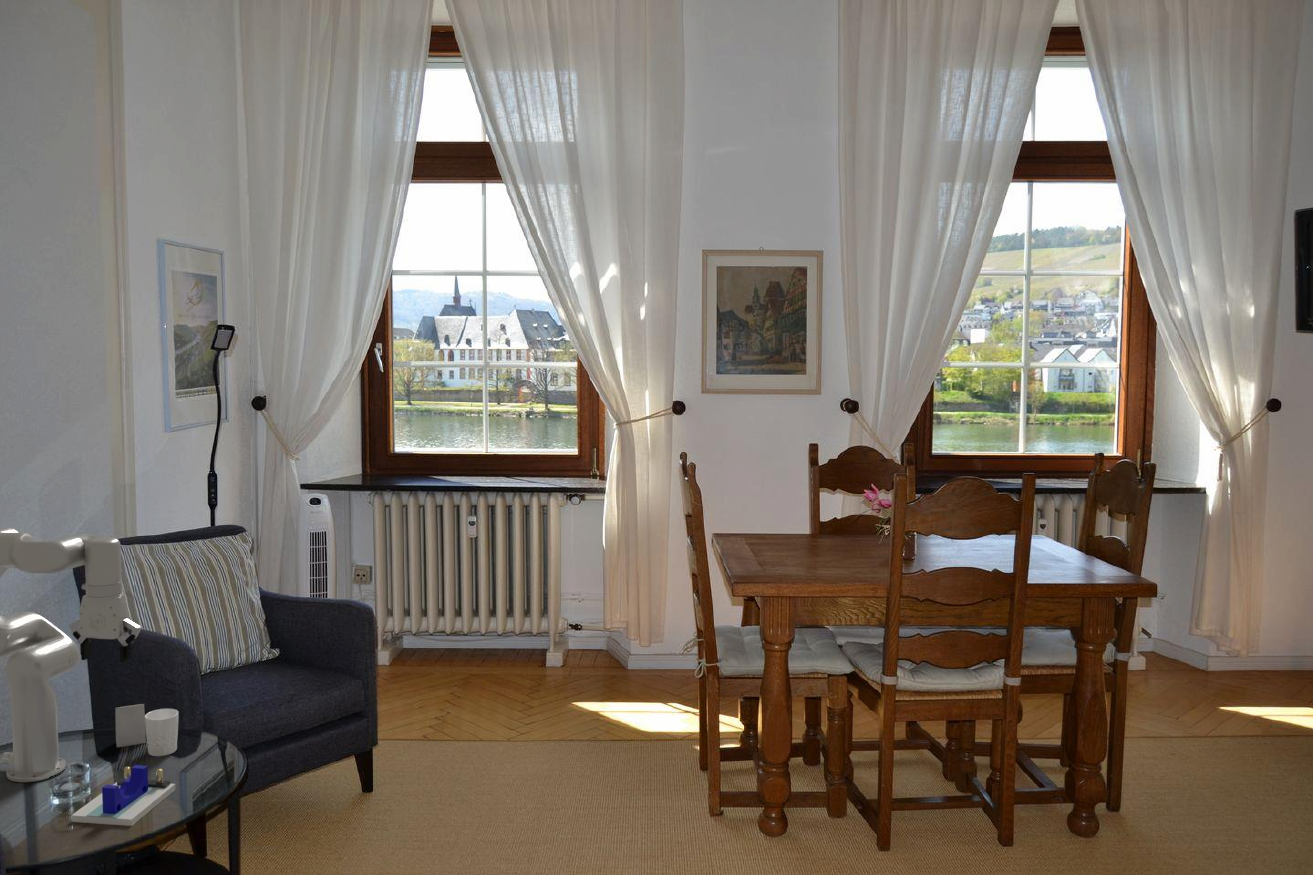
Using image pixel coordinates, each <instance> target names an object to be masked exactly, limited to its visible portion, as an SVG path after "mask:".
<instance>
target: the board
mask: <svg viewBox="0 0 1313 875" xmlns="http://www.w3.org/2000/svg"><path fill="white" fill-rule="evenodd" d="M112 785H117V781H116V782H115V783H114V784H112ZM117 786H119V788H120V787H121V785H117ZM175 791H176V783H170V785H169V786H168V787H167V788H154V787H148V791H147V792H146V793H144V794H143V795H141V796H140V797H139V798H137V799H136V800H134V801H133V802H132V803H130V804H129V805H127V806H126V807H125V808H123V809H122V810H121V811H119V812H118V813H116V814H107V813H103V801H102V792H101V793H100V794H98V795H96V797H94V798H93V799H92V800H90V801H89V802H88V803H86V804H85V805H84V806H81V808H79V809H78V810H77V811H75V812H74V813H73V814H71V815H70V816H71V823H83V824H87V823H88V824H96V825H97V824H98V825H113V826H114V825H116V826H127V827H133V826H134V825H135V824H136V823H137V822H139V821H140V820H141V819H142V818H144V817H145V816H146V815H147V814H148V813H150V812H151V811H152V810H153V809H154V808H156V806H158V805H159V804H160V803H161V802H163V801H165V799H166V798H167V797H169V796H170V795H171V794H173V793H174V792H175Z"/></svg>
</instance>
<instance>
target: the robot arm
mask: <svg viewBox="0 0 1313 875" xmlns="http://www.w3.org/2000/svg"><path fill="white" fill-rule="evenodd" d="M121 548H122V547H121V542H120V540H119V539H118V538H116V537H112V536H111V537H110V536H102V537H100V536H97V535H94V534H90V533H83V532H82V533H76V534H72V535H69V536H65V537H61V538H58V539H54V540H50V541H35V539H34V537H33V536H32V535H31V534H29V533H26V532H19V531H18V530H16V529H15V528H12V527H9V526H1V527H0V578H2V576H3V575H4V574H5V573H7V571H8V569H17V570H19V571H20V572H23V573H27V574H55V573H61V572H64V571H67V570H71V569H73V568H74V569H75V568H79V567H82V566H84V568H85V583H83V584H81V590H84V591H85V595H84V594H83V595H82V598H81V603H80V609H79V617H78V618H79V619H77V620H76V621H74V622H72V623H70V624H68V626H69V629H70V631H71V633H72V636H73V637H74V638H75V639H76V641H77V643H78V644H79V645H80V646H79V647H78V645H77V644H76V643H75V641H74V640H73V639H72V638H71V637H70V636H68V635H67V634H66V633H65V632H64V631H62V630H61V629H60V628H58V627H57V626H56V625H55V624H53V623H52V622H50V621H49V620H48V619H46V618H45V617H43V616H42V615H40V614H39V613H36V612H34V611H30V610H29V611H19V612H16V613H12V614H10V615H4V616H3V615H1V614H0V660H2V659H6V658H8V657H9V658H8V659H7V661H6V663H5V666H4V675H5V679H6V682H7V686H8V689H9V696H10V697H9V698H10V708H11V709H10V710H11V729H12V732H11V733H12V752H9V751H8V752H7V751H6V752H5V751H4V752H3V753H2V755H1V758H0V764H1V765H9V768H8V769H7V771H6V778H7V779H8V780H9V781H12V782H17V783H32V782H33V783H34V782H40V781H45V780H46V779H47V780H48V779H50V778H49V777H50V776H53V775H55V774H57V773H59V772H61V771H62V770H64V769H65V770H66V768H67V761H66V760H65V759H63V758H62V757H60V754H59V730H58V703H57V696H56V694H55V691H54V690H53V688H52V687H51V685H50V681H51V680H53V679H54V678H57V677H59V676H61V675H64V674H66V673H68V672H69V671H72V670H73V669H74V668H75V667H77V665H78V664H79V661H80V658H81V661H86V660H88V659H90V658H92V656H93V643H92V640H90V639H98V640H99V639H100V640H116V639H117V640H118V642H119V643H120V644H121V645H120V646H119V661H120V663H126V662H127V661H129V660H131V656H132V644H133V643H134V641H135V640H136V639H137V638H138V637H139V634H140V632H141V630H142V626H140V625H139V624H137V623H135V622H134V621H132V620H130V618H129V610H128V605H127V599H126V596H125V594H124V593H123V589H122V586H123V584H122V581H123V580H122V549H121ZM129 630H131V632H130V633H131V634H129ZM79 648H80V649H79ZM65 767H66V768H65ZM65 770H64V771H65ZM61 773H62V772H61ZM53 777H54V776H53Z"/></svg>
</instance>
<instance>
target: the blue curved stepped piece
mask: <svg viewBox="0 0 1313 875" xmlns="http://www.w3.org/2000/svg"><path fill="white" fill-rule="evenodd" d="M148 769H149V767H148V765H139V764H134V765H133V766H132V767H131V777H129V778H128V779H126V780H125V781H123V783H122V785H121V787H120V788H119V786H117V785H113V784H105V785H104V786H102V787H101V793H102V801H103V813H107V814H116V813H118V812H119V811H121V810H122V809H123V808H125V807H126V806H127V805H129V804H130V803H132V802H133V801H134V800H136V799H137V798H139V797H140V796H141V795H143V794H144V793H146V792H147V791H148V780H149V773H148V772H149V771H148Z"/></svg>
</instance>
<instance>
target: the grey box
mask: <svg viewBox="0 0 1313 875" xmlns="http://www.w3.org/2000/svg"><path fill="white" fill-rule="evenodd" d="M114 709H115V744H116V748H121V747H128V746H129V747H130V746H134V745H141V744H147V739H146V727H145V715H146V714H145V713H146V712H145V703H140V704H139V703H138V704H134V705H125V706H120V707H115V708H114Z"/></svg>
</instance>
